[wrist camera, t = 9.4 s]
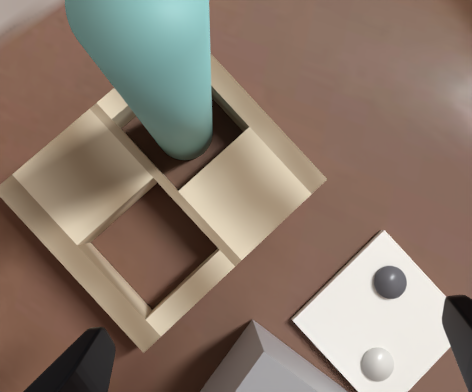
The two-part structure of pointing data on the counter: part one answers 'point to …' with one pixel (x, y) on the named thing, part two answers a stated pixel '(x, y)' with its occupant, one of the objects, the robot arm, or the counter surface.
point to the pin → (154, 64)
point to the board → (188, 197)
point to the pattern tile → (378, 319)
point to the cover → (266, 367)
